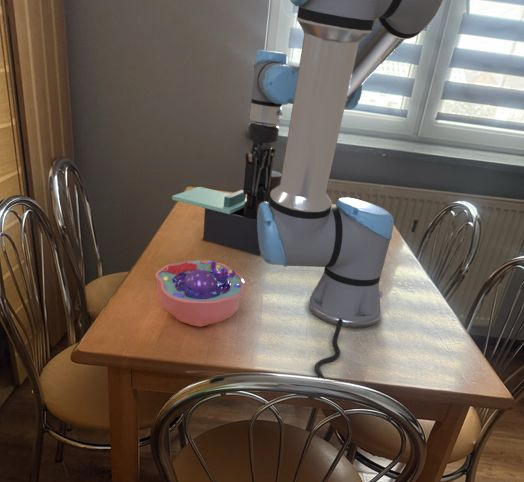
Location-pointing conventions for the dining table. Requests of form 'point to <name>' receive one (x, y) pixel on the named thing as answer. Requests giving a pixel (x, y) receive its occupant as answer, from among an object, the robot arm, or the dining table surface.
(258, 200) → the block
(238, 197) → the lid
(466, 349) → the dining table surface
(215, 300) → the cell model
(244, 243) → the bin
